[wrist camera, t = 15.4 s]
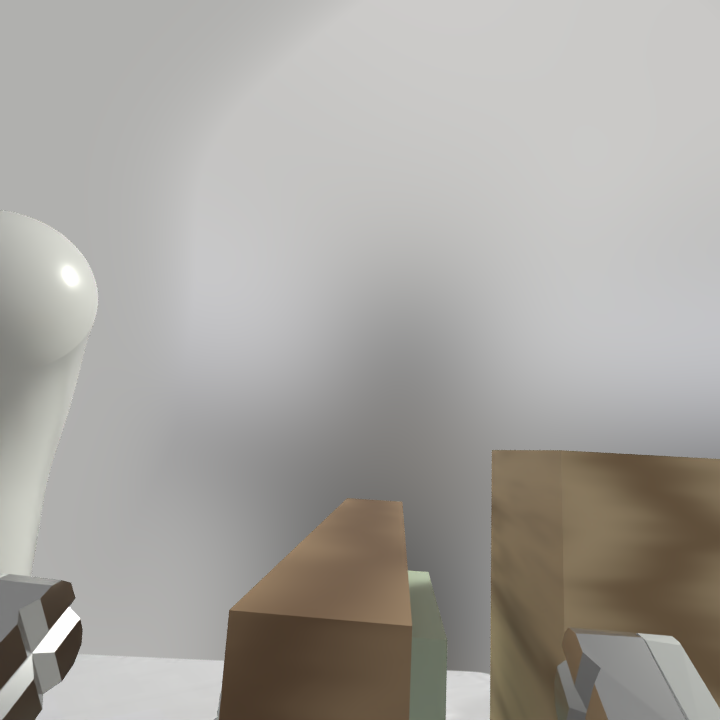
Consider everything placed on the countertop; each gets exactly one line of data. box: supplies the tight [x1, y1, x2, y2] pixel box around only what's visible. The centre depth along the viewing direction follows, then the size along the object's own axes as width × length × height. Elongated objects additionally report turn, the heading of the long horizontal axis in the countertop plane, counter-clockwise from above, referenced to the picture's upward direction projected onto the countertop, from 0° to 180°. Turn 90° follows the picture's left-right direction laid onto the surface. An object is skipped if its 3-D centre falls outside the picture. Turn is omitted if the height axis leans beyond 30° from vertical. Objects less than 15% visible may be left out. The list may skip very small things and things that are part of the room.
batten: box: [219, 498, 412, 720], centre depth 20 cm, size 4×22×4 cm, turn 176°
